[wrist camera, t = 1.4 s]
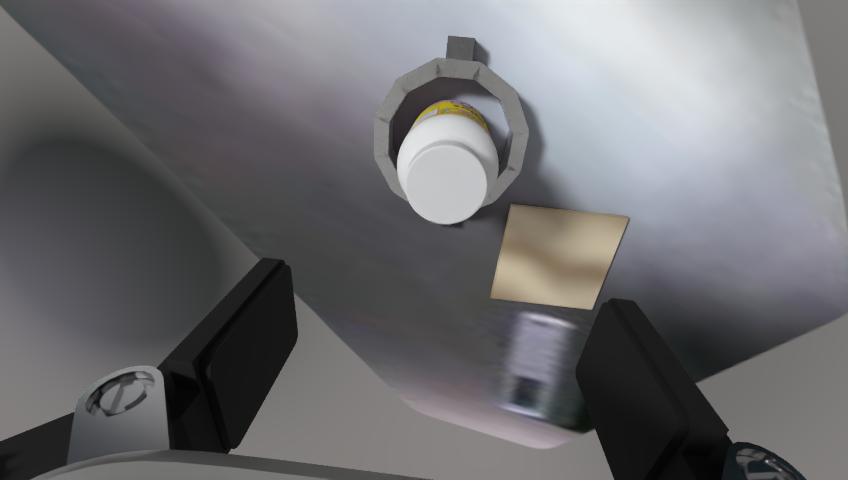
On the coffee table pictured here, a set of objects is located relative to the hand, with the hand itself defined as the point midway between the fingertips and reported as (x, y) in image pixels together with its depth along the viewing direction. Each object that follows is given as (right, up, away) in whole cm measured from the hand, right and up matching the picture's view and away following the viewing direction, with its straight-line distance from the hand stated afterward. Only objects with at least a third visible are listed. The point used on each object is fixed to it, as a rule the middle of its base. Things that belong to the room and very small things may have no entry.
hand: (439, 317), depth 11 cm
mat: (+13, 0, +25) cm, 28 cm away
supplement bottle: (+2, +11, +20) cm, 23 cm away
